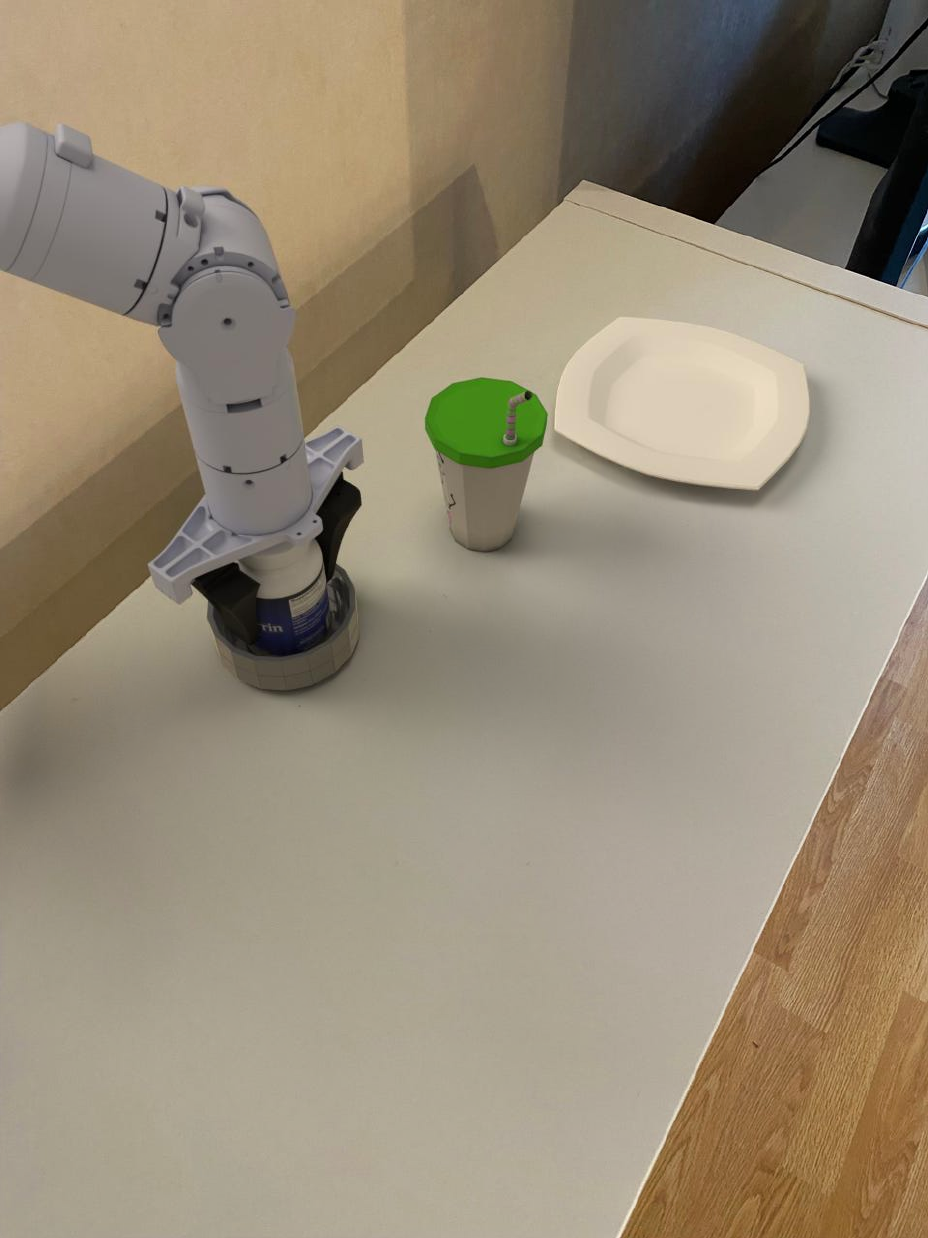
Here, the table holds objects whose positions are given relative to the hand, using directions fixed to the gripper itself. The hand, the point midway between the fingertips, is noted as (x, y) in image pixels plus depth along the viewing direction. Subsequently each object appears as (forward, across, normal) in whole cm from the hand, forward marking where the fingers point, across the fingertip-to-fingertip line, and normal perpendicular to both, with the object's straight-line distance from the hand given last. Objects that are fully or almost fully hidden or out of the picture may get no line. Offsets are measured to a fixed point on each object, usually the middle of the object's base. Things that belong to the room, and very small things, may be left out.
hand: (281, 603), depth 64 cm
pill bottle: (+3, 0, 0) cm, 3 cm away
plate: (+4, +36, -8) cm, 37 cm away
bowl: (+3, 0, 0) cm, 3 cm away
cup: (+4, +16, -4) cm, 17 cm away
